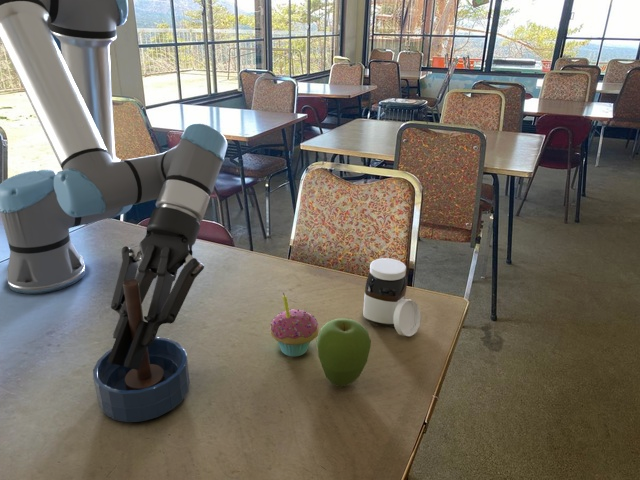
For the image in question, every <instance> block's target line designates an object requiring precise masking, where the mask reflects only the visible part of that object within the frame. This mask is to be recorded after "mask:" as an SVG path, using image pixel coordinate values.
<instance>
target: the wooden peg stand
mask: <svg viewBox="0 0 640 480" xmlns="http://www.w3.org/2000/svg"><path fill="white" fill-rule="evenodd" d="M123 288H124V295H125V301H126V307H127V314H128V320H129V326H130V333H131V339H132V342H133V339H134V337H135V334H136V331H137V328H138V326H139V323H140V320H141V321H145V319H144V313H143V311H144V310H143V305H142V304H143V303H142V304H141V297H140V290H139V283H138V281H137V280H135V279H130V280H126V281H124V282H123ZM163 381H165V377H164V371H163V369H162V368H161V367H160V366H158V365H155V364H150V361H149V354H148V347H147V348H146V351H145V354H144V357H143V360H142V363H141V365H140V368H139V370H136V369H132V370H130V371H129V372H128V373H127V375H126V376H125V385H126V391H130V390H141V389H145V388H148V387H152V386H155V385H157V384H159V383H161V382H163Z"/></svg>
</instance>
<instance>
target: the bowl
mask: <svg viewBox="0 0 640 480" xmlns="http://www.w3.org/2000/svg"><path fill="white" fill-rule="evenodd" d="M131 345H132V342H131ZM131 345H130V347H129V350H130V348H131ZM129 350H128V353H129ZM111 351H112V348H110V349H109V350H107V351H106V352H105V353H103V355H102V356H101V357H100V358H99V359H98V360H97V361H96V363H95V365H94V367H93V369H92V374H93V376H92V377H93V379H92V380H93V383H94V389H95V393H96V397H97V403H98V407H99V408H100V410H101V411H102V413H103V414H104V415H105V416H107V417H109V418H110V419H112V420H114V421H119V422H125V423H136V422H137V423H138V422H146V421H148V420H153V419H157V418H158V417H161V416H163V415H165V414H166V413H169V412H170V411H172V410H174V409H175V408H176V407H178V405H180V404H181V403H182V402H183V401H184V399H185V397H186V396H187V394H188V393H189V389H190V384H191V382H190V372H189V364H188V354H187V351H186V349H185V348H184V347H183V346H182V345H181V344H180V343H179V342H177V341H174V340H172V339H170V338H166V337H159V336H156V337H155V340H154V343H153V345H152V346H151V347H148V354H149V361H150V364H155V365H158V366H160V367H161V368H162V369H163V371H164V377H165V381H163V382H161V383H159V384H157V385H155V386H152V387H148V388H145V389H141V390H130V391H126V385H125V376H126V375H127V373H128V372H129V371H130V370H132V368H128V367H124V364H125V361H126V359H127V356H128V353H127V356H126V358H125V361H124V364H123V366H120V365H116V364H112V363H108V362H107V361H108V358H109V356H110V353H111Z"/></svg>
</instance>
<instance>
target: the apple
mask: <svg viewBox="0 0 640 480" xmlns="http://www.w3.org/2000/svg"><path fill="white" fill-rule="evenodd" d="M315 343H316V350H317V356H318V359H319V362H320V364H321V367H322V371H323V373H324V376H325V378H326V379H327V380H328V381H329V382H330V383H332V384H333V385H334V386H336V387H345V386H348V385H351V384H353V382H355V381H357V380H358V379H359V378H360V376H361V374H362V372H363V370H364V368H365V366H366V364H367V363H368V359H369V356H370V355H369V354H370V351H371V346H372V340H371V337H370V333H369V331H368V330H367V328H366V327H365V326H363V325H362V324H361V323H360V322H358V321H357V320H354V319H351V318H335V319H332V320H330V321H328V322H326V323H325V324H324V325H323V326H322V327H321V328H320V331H319V332H318V336H317V338H316V342H315Z"/></svg>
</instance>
